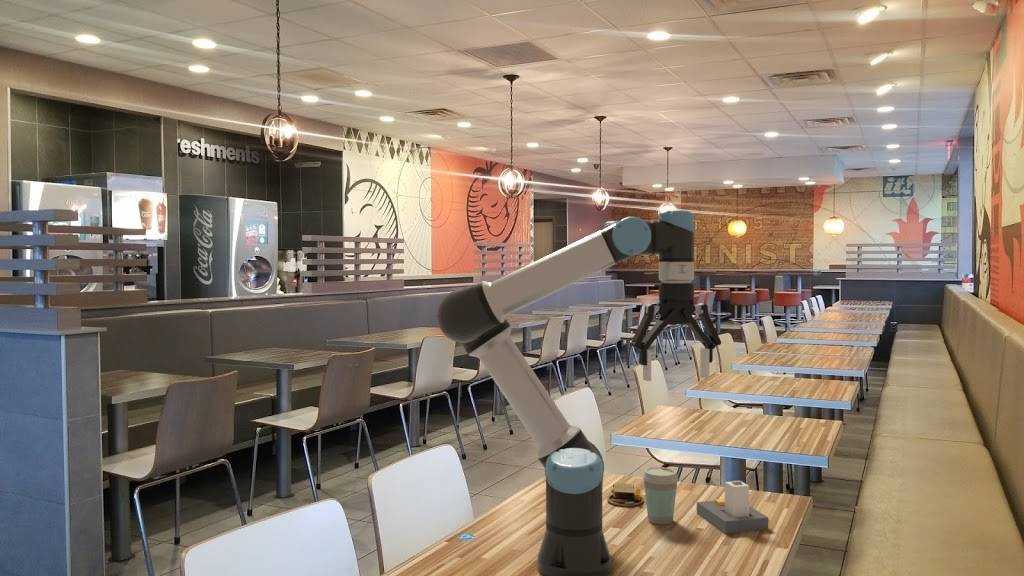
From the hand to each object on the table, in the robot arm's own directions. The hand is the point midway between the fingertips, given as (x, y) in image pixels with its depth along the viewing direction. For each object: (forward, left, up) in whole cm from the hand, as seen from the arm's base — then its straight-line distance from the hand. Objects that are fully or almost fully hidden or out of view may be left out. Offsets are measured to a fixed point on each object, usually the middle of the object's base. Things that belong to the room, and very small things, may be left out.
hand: (676, 379), depth 162 cm
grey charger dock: (+19, +10, -37) cm, 43 cm away
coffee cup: (+3, +15, -37) cm, 40 cm away
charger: (+19, +7, -37) cm, 42 cm away
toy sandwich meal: (0, +31, -37) cm, 48 cm away
